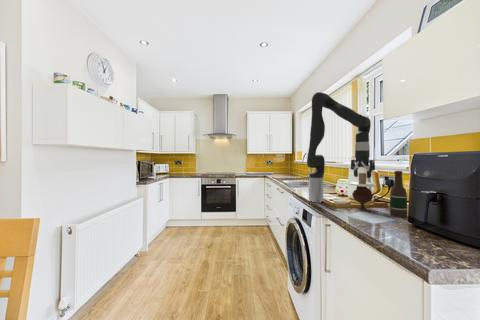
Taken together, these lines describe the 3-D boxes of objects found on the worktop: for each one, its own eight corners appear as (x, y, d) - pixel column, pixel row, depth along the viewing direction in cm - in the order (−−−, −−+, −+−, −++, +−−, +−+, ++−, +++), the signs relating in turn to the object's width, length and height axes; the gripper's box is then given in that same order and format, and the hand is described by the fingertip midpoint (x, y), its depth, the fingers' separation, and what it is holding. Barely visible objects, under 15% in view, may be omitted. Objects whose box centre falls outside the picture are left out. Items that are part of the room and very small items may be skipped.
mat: (342, 215, 118) (342, 214, 118) (363, 212, 124) (363, 211, 124) (373, 225, 101) (373, 223, 101) (396, 221, 107) (396, 219, 107)
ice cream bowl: (348, 209, 133) (347, 184, 133) (360, 207, 137) (360, 183, 137) (364, 213, 123) (364, 186, 123) (377, 210, 128) (377, 185, 128)
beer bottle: (393, 214, 120) (393, 170, 120) (410, 217, 114) (410, 171, 114) (386, 216, 116) (386, 170, 116) (403, 219, 110) (403, 171, 109)
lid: (343, 183, 134) (344, 172, 134) (360, 182, 139) (360, 171, 139) (364, 187, 121) (364, 175, 121) (381, 185, 126) (382, 174, 126)
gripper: (347, 150, 135) (347, 176, 135) (368, 149, 122) (368, 178, 122) (356, 150, 138) (356, 176, 138) (378, 149, 125) (378, 178, 125)
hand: (362, 177), depth 130 cm, fingers open, 8 cm apart
